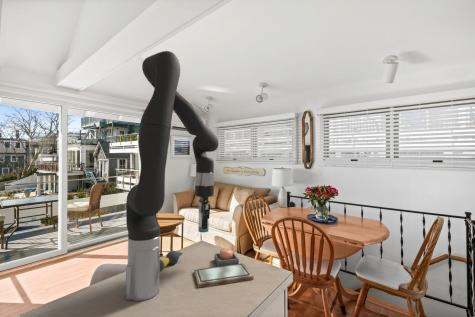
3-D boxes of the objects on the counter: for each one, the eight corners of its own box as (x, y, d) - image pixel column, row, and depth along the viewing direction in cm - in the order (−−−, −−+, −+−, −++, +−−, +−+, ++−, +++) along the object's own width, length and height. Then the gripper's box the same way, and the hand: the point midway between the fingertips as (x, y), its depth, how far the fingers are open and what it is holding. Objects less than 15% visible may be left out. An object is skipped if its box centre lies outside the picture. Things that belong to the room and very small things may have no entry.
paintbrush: (148, 282, 78) (149, 267, 78) (137, 279, 80) (138, 264, 80) (184, 260, 96) (184, 248, 96) (175, 258, 98) (175, 246, 98)
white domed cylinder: (199, 232, 90) (199, 213, 90) (197, 229, 94) (198, 211, 94) (209, 231, 91) (209, 212, 91) (207, 229, 95) (207, 210, 95)
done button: (221, 260, 91) (221, 254, 91) (218, 255, 96) (218, 249, 96) (234, 259, 92) (234, 252, 92) (230, 254, 97) (230, 248, 97)
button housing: (218, 268, 89) (218, 261, 89) (214, 259, 97) (214, 253, 97) (238, 265, 91) (238, 258, 91) (232, 257, 99) (232, 251, 99)
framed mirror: (198, 287, 75) (198, 283, 75) (193, 272, 85) (194, 268, 85) (253, 279, 80) (253, 275, 80) (243, 266, 91) (243, 262, 91)
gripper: (192, 182, 99) (191, 223, 98) (197, 185, 85) (196, 233, 85) (210, 182, 101) (209, 222, 100) (217, 185, 87) (216, 231, 87)
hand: (203, 227), depth 92 cm, fingers closed on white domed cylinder, 4 cm apart
